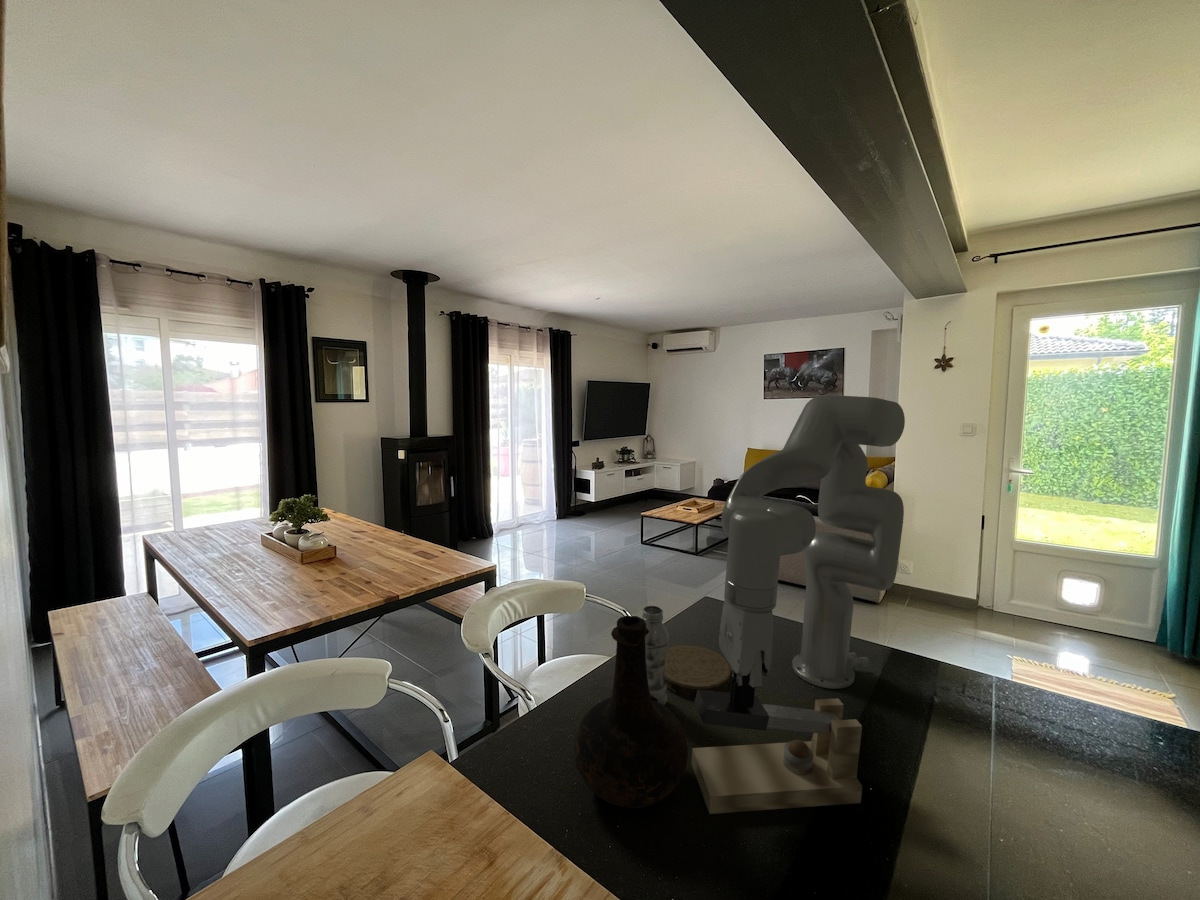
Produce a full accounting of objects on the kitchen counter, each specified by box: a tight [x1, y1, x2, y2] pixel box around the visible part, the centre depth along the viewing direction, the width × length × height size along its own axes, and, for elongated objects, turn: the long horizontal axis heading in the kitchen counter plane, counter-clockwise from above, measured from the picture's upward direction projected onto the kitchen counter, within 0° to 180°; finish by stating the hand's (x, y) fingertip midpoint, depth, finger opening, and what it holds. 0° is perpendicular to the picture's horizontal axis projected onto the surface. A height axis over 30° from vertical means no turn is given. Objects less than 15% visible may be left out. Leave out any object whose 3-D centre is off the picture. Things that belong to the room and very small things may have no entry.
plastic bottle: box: [642, 605, 670, 706], centre depth 103 cm, size 6×7×20 cm
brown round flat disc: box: [665, 644, 731, 699], centre depth 114 cm, size 16×16×3 cm
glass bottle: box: [573, 615, 689, 809], centre depth 83 cm, size 18×18×28 cm
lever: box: [694, 689, 839, 738], centre depth 83 cm, size 23×5×3 cm, turn 97°
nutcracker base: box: [691, 698, 863, 815], centre depth 85 cm, size 24×10×12 cm, turn 96°
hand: (741, 704), depth 82 cm, fingers closed
